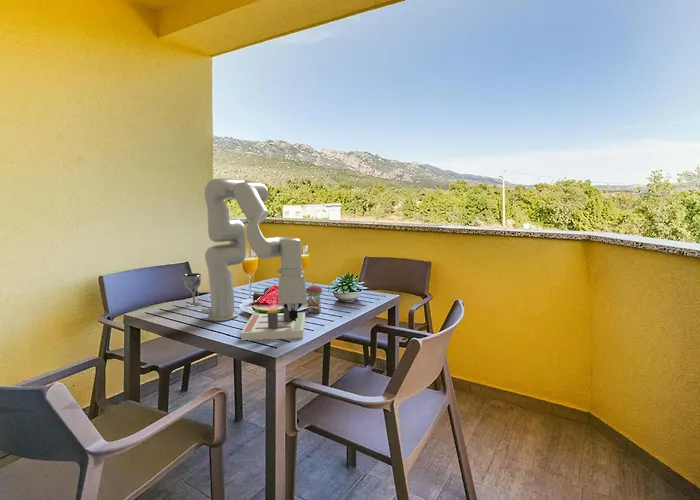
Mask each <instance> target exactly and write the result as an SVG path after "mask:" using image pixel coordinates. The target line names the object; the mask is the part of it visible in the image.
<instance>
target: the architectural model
mask: <svg viewBox="0 0 700 500" xmlns="http://www.w3.org/2000/svg"><path fill="white" fill-rule="evenodd" d="M307 300H308V304H306V305H303V308H308V313H309V312H310V313H315V314H317V313H318V314H321V313H322V305H321V296H320V297H309V296H308V299H307Z"/></svg>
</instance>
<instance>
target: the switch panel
mask: <svg viewBox="0 0 700 500" xmlns="http://www.w3.org/2000/svg"><path fill="white" fill-rule="evenodd" d="M291 305H292V308H293V310H294V307H295V303H291ZM282 309H283V313H281V312H280V313H278V327H277V328H268V313H260V314H258V313H256V314H251V316H250V318H248V321H247V323H246V324H245V326H244V327H243V328H242V331H241V332H240V337H241V338H240V339H241V341H242V340H248V341H264V340H263V339H265V341H267V340H266V339H270V340H283V339H284V340H287V339H288V340H290V339H304V334H305V327H306V326H305V325H306V312H298V318H296V321H294V320H293V321H291V319H289V311H288V309H287V308H286V307H285V306H282ZM242 342H243V341H242Z"/></svg>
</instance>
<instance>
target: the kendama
mask: <svg viewBox="0 0 700 500" xmlns="http://www.w3.org/2000/svg"><path fill="white" fill-rule="evenodd" d="M269 288H272V287H270V286H268V287H266V288H265V289H264V291H263V293H265V292H266V291H267V290H268V289H269ZM263 293H259V292H257V291H256V292H253V294H252V299H253V300H252V301H253V302H254V301H255V300H257V299H258V298H259V297H260V296H262V295H263Z"/></svg>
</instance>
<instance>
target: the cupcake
mask: <svg viewBox="0 0 700 500" xmlns="http://www.w3.org/2000/svg"><path fill="white" fill-rule="evenodd" d="M311 280H312V285H310V286H308V287H306V292H307V296H308V298H309V297H320V298H321V294H322V293H323V289H322V287H321V286H318V285H315V283H314V280H315V279H314V278H312V279H311Z"/></svg>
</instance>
